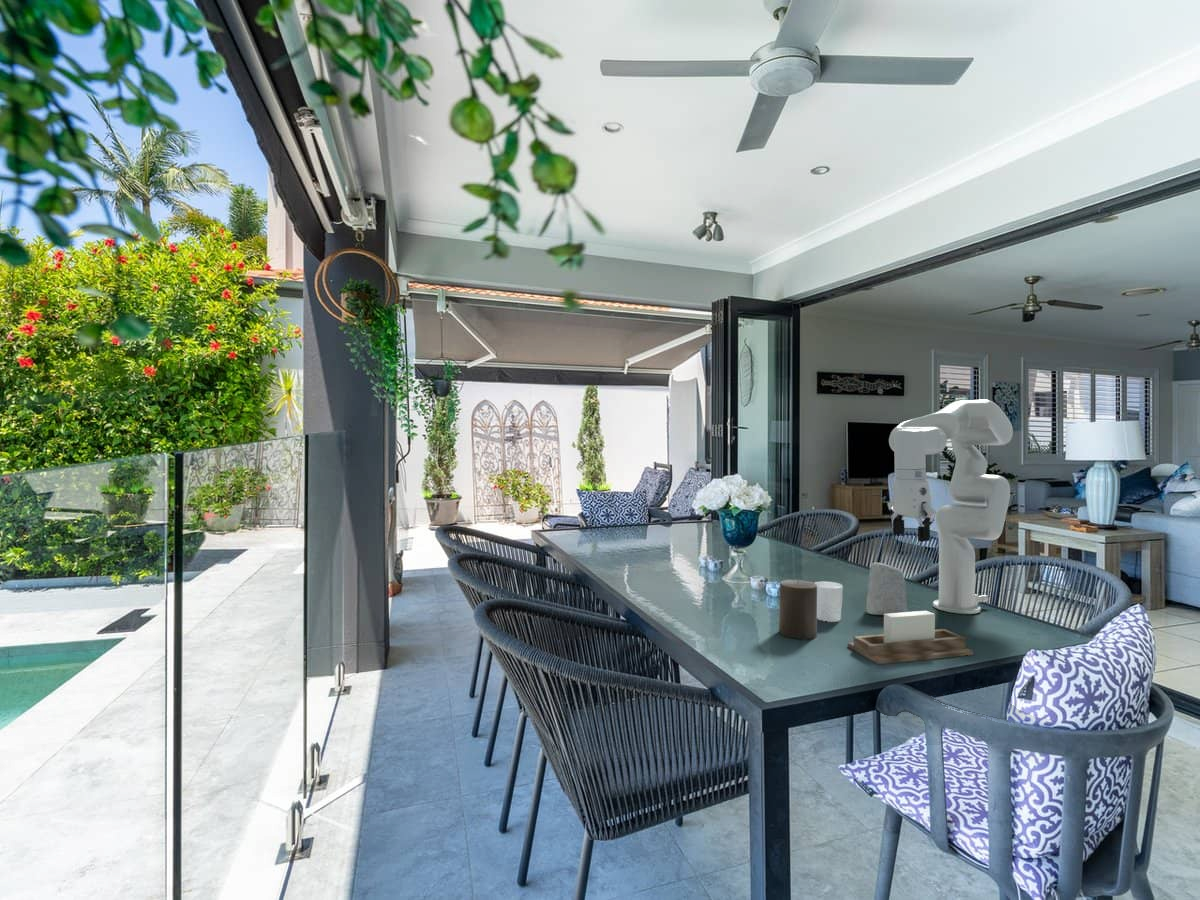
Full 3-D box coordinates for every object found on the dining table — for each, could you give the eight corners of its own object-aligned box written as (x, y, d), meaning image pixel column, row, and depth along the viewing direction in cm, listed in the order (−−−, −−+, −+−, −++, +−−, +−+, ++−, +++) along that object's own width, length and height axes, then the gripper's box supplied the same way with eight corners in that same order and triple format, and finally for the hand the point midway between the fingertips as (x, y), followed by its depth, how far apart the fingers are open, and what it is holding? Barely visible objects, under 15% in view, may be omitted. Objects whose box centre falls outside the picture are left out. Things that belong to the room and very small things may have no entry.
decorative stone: (905, 612, 185) (905, 563, 185) (908, 618, 180) (908, 567, 179) (865, 609, 189) (865, 560, 188) (867, 615, 183) (867, 565, 183)
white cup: (845, 623, 176) (845, 588, 176) (815, 622, 178) (815, 587, 177) (840, 615, 184) (840, 581, 183) (812, 614, 185) (812, 580, 185)
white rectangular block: (926, 641, 157) (926, 610, 157) (934, 645, 154) (934, 614, 154) (883, 645, 155) (883, 613, 154) (891, 649, 152) (891, 617, 151)
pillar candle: (798, 642, 161) (798, 584, 161) (771, 631, 170) (772, 576, 169) (824, 636, 166) (825, 580, 165) (797, 626, 174) (798, 573, 174)
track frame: (937, 638, 163) (937, 625, 162) (973, 655, 151) (973, 641, 151) (847, 646, 157) (847, 633, 157) (877, 664, 146) (877, 649, 146)
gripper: (946, 477, 160) (947, 542, 161) (900, 471, 177) (901, 530, 178) (921, 479, 158) (921, 545, 160) (877, 473, 175) (878, 533, 176)
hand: (911, 537), depth 169 cm, fingers open, 9 cm apart
